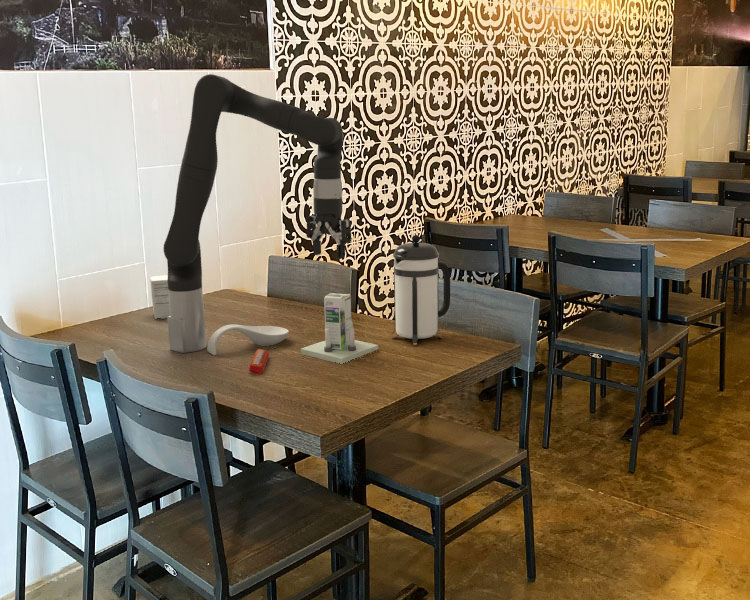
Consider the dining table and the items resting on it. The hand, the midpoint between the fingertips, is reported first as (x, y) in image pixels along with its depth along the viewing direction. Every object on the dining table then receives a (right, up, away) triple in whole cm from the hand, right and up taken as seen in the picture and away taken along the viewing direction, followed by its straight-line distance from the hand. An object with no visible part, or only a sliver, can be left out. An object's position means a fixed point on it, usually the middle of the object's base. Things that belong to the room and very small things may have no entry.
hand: (328, 256), depth 220 cm
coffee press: (+25, -23, +17) cm, 38 cm away
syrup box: (+2, -25, +4) cm, 25 cm away
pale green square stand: (+3, -26, +5) cm, 26 cm away
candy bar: (-18, -29, -5) cm, 35 cm away
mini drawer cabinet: (-56, -17, +48) cm, 75 cm away
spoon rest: (-23, -25, +12) cm, 36 cm away
